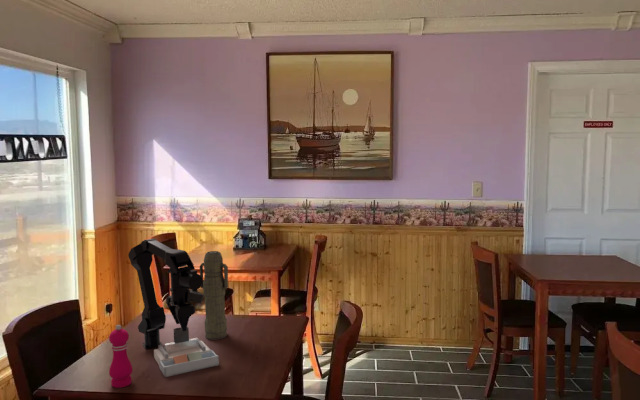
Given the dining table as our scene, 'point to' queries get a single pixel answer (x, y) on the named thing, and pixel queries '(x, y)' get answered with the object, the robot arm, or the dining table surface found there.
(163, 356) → the white shallow box
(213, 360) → the tray
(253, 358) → the dining table surface
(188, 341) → the grey panel
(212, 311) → the thermos
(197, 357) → the sage tile
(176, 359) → the terracotta tile
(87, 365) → the dining table surface
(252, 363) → the dining table surface
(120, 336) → the pepper mill
